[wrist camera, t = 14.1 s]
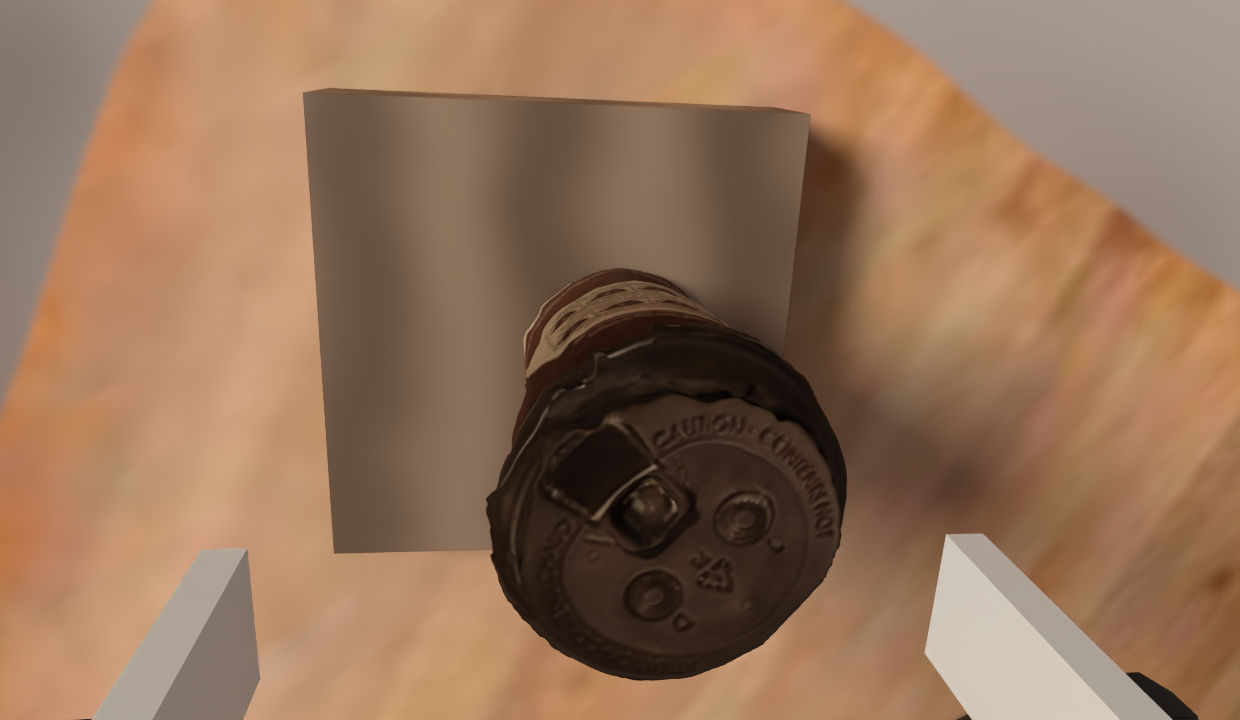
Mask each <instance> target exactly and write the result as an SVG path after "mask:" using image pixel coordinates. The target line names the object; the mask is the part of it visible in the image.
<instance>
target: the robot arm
mask: <svg viewBox="0 0 1240 720" xmlns="http://www.w3.org/2000/svg"><path fill="white" fill-rule="evenodd" d="M925 654H926V656H927V657H928V658H929V660H930V661H931V663H932V664H933V665H934V667H935V668H936V670H937V671H938V673H939V674H940V675H941V677H942V678H943V680H944V681H945V682H946V684H947V685H948V687H949V688H950V689H951V691H952V692H953V694H954V695H955V696H956V698H957V699H958V701H959V702H960V704H961V705H962V706H963V708H964V709H965V711H966V712H967V713H968V715H967V716H965V717H963V718H961V719H959V720H1198V716H1197V715H1196V714H1195V713H1194V712H1193V711H1192V710H1191V709H1189V708H1188V707H1187V706H1186V705H1185V704H1184V703H1183V702H1182V701H1181V700H1180V699H1179V698H1178V697H1177V696H1176V695H1175V694H1174V693H1172V692H1171V691H1169V690H1167V689H1166V688H1164V687H1162V686H1161V685H1159V684H1158V683H1156V682H1154V681H1153V680H1151V679H1149V678H1148V677H1146V676H1144V675H1143V674H1141V673H1139V672H1135V673H1124V672H1123V671H1122V670H1121V669H1120V668H1119V667H1118V666H1117V665H1116V664H1115V663H1114V662H1113V661H1112V660H1111V659H1110V658H1109V657H1108V656H1107V655H1106V654H1105V653H1104V652H1103V651H1102V650H1101V649H1100V648H1099V647H1098V646H1097V645H1096V644H1095V643H1094V642H1093V641H1092V640H1091V639H1090V638H1089V637H1088V636H1087V635H1086V634H1085V633H1084V632H1083V631H1082V630H1081V629H1080V628H1079V627H1078V626H1077V625H1076V624H1075V623H1073V622H1072V621H1071V620H1070V619H1069V618H1068V617H1067V616H1066V615H1065V614H1064V613H1063V612H1062V611H1061V610H1060V609H1059V608H1058V607H1057V606H1056V605H1055V604H1054V603H1053V602H1052V601H1051V600H1050V599H1049V598H1048V597H1047V596H1046V595H1045V594H1044V593H1043V592H1042V591H1041V590H1040V589H1039V588H1038V587H1037V586H1036V585H1035V584H1034V583H1033V582H1032V581H1031V580H1030V579H1029V578H1028V577H1027V576H1026V575H1025V574H1024V573H1023V572H1022V571H1021V570H1019V569H1018V568H1017V567H1016V566H1015V565H1014V564H1013V563H1012V562H1011V561H1010V560H1009V559H1008V558H1007V557H1006V556H1005V555H1004V554H1003V553H1002V552H1001V551H1000V550H999V549H998V548H997V547H996V546H995V545H994V544H993V543H992V542H991V541H990V540H989V539H988V538H987V537H986V536H985V535H984V534H946V538H945V544H944V549H943V555H942V560H941V566H940V571H939V577H938V582H937V588H936V593H935V599H934V605H933V610H932V616H931V621H930V627H929V632H928V638H927V643H926V649H925ZM259 680H260V674H259V663H258V653H257V643H256V633H255V623H254V613H253V603H252V592H251V582H250V572H249V562H248V552H247V548H239V549H202V550H201V551H200V553H199V554H198V556H197V557H196V559H195V560H194V562H193V564H192V565H191V567H190V568H189V570H188V571H187V573H186V574H185V576H184V577H183V579H182V581H181V582H180V584H179V585H178V587H177V588H176V590H175V591H174V593H173V594H172V596H171V598H170V599H169V601H168V602H167V604H166V605H165V607H164V608H163V610H162V611H161V613H160V615H159V616H158V618H157V619H156V621H155V622H154V624H153V625H152V627H151V628H150V630H149V632H148V633H147V635H146V636H145V638H144V639H143V641H142V642H141V644H140V645H139V647H138V649H137V650H136V652H135V653H134V655H133V656H132V658H131V659H130V661H129V662H128V664H127V666H126V667H125V669H124V670H123V672H122V673H121V675H120V676H119V678H118V679H117V681H116V683H115V684H114V686H113V687H112V689H111V690H110V692H109V693H108V695H107V696H106V698H105V700H104V701H103V703H102V704H101V706H100V707H99V709H98V710H97V712H96V713H95V715H94V717H93V718H92V719H81V720H243V718H244V716H245V713H246V711H247V709H248V706H249V704H250V701H251V699H252V697H253V694H254V692H255V689H256V687H257V684H258V682H259Z"/></svg>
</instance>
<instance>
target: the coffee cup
mask: <svg viewBox="0 0 1240 720" xmlns="http://www.w3.org/2000/svg"><path fill="white" fill-rule="evenodd" d="M523 343H524V354H525V364H524V374H525V375H526V384H525V388H526V394H525V397H524V400H523V403H522V406H521V409H520V410H519V412H518V415H517V420H516V423H515V427H514V430H513V434H512V449H511V452H510V454H508V455H507V457H506V459H505V461H504V463H503V466H502V469H501V472H500V474H499V480H498V485H497V487H496V490H494V491H493V492H491V493H490V495H489V496H488V497H487V498H486V501H487V506H486V514H487V518H488V521H489V524H490V537H491V542H492V549H493V553H492V554H491V555H490V556H491V560H492V562H493V564H494V567H495V570H496V572H497V574H498V579H499V583H500V585H501V587H502V590H503V593H504V595H505V596H506V598H507V600H508V601H509V602H510V603H511V604H512V606H513V607H514V609H515V610H516V611H517V612H518V613H519V615H520V616H521V618H522V619H523V620H524V621H526V622H527V623H528V624H529V625H530V626H531V627H532V629H533V630H534V631H535V632H536V633H537V634H538V635H539V636H540V637H543V638H545V639H546V640H547V641H548V642H549V644H550V645H551V647H553V648H554V649H556V650H558V651H560V652H561V653H563V654H564V655H566V656H567V657H570V658H573V659H575V660H577V661H579V662H581V663H583V664H585V665H587V666H589V667H591V668H593V669H596V670H598V671H600V672H603V673H606V674H609V675H613V676H618V677H621V678H628V679H631V680H639V681H642V680H651V681H652V680H666V679H682V678H687V677H692V676H695V675H698V674H701V673H703V672H706V671H709V670H711V669H713V668H717V667H720V666H723V665H725V664H726V663H729V662H731V661H733V660H734V659H736V658H738V657H740V656H742V655H743V654H745V653H748V652H750V651H752V650H753V649H755V648H757V647H759V646H761V645H763V644H764V642H765V641H766V640H768V639H769V637H770V636H771V635H772V634H773V633H775V632H776V631H777V629H778V628H779V627H780V626H781V625H782V624H783V623H784V622H785V621H786V620H787V619H788V618H789V617H790V616H791V615H792V614H793V613H794V612H795V611H796V610H797V609H798V608H799V607H800V605H801V604H802V603H803V602H804V601H805V600H806V599H807V598H808V597H809V596H810V595H811V593H812V592H813V591H814V590H815V589H816V588H817V587H818V586H819V585H820V584H821V583H822V582H823V580H824V578H826V575H827V572H828V570H829V568H830V567H831V566H832V562H833V558H834V557H835V552H836V551H837V549H838V548H839V546H840V540H841V530H840V529H841V526H842V520H843V513H844V508H845V503H846V497H847V492H846V486H847V473H846V466H845V461H844V458H843V455H842V451H841V448H840V445H839V443H838V440H837V437H836V435H835V433H834V431H833V429H832V428H831V426H830V424H829V422H828V420H827V418H826V416H825V414H824V412H823V411H822V409H821V407H820V405H819V403H818V402H817V399H816V397H815V395H814V393H813V390H812V389H811V386H810V384H809V382H808V381H807V380H806V378H805V377H804V376H803V375H802V374H800V373H799V372H797V371H796V370H795V369H794V368H793V366H792V365H790V364H789V363H788V362H787V361H786V360H784V359H783V358H782V357H781V356H780V355H779V354H778V353H777V352H776V351H774V350H773V349H772V348H770V347H768V346H765V345H764V344H762V343H761V342H760V341H759V339H758V338H755V337H752V336H750V335H748V334H746V333H745V332H738V331H736V330H734V329H731V328H730V327H729V326H728V325H727V324H726V323H725V322H724V321H722V320H720V319H718V318H717V317H715V316H714V315H713V314H712V313H710V312H709V311H707V310H706V309H705V308H703V307H702V306H701V305H700V304H698V303H696V302H695V301H693V300H691V299H689V297H688V296H687V295H686V294H685V293H684V292H683V291H682V290H681V289H680V288H679V287H677V286H676V285H674V284H672V283H671V282H670V281H668V280H666V279H664V278H662V277H660V276H657V275H653V274H650V273H647V272H642V271H638V270H633V269H628V268H613V269H607V270H602V271H599V272H594V273H592V274H589V275H586V276H584V277H582V278H580V279H578V280H576V281H573V282H571V283H570V284H569V285H567V286H566V287H565V288H563V289H562V290H561V291H560V292H558V293H557V294H556V295H555V296H553V297H552V298H550V299H549V300H548V301H546V302H545V303H544V304H543V305H542V306H541V309H540V312H539V314H538V315H537V317H536V319H535V320H534V322H533V323H532V324H531V326H530V328H529V329H528V330H527V331H526V333H525V336H524V339H523Z"/></svg>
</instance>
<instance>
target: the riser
mask: <svg viewBox="0 0 1240 720" xmlns="http://www.w3.org/2000/svg"><path fill="white" fill-rule="evenodd" d="M303 101H304V115H305V130H306V145H307V160H308V175H309V190H310V204H311V219H312V234H313V249H314V264H315V279H316V293H317V308H318V323H319V338H320V353H321V368H322V382H323V397H324V412H325V427H326V442H327V457H328V471H329V486H330V501H331V516H332V531H333V546H334V553H376V552H418V551H461V550H493V549H492V542H491V537H490V524H489V521H488V518H487V514H486V506H487V501H486V498H487V497H488V496H489V495H490V493H491V492H493V491H494V490H496V487H497V485H498V480H499V474H500V472H501V469H502V466H503V463H504V461H505V459H506V457H507V455H508V454H510V452H511V449H512V434H513V430H514V427H515V423H516V420H517V415H518V412H519V410H520V409H521V406H522V403H523V400H524V397H525V394H526V388H525V384H526V375H525V374H524V364H525V354H524V343H523V339H524V336H525V333H526V331H527V330H528V329H529V328H530V326H531V324H532V323H533V322H534V320H535V319H536V317H537V315H538V314H539V312H540V309H541V306H542V305H543V304H544V303H545V302H546V301H548V300H549V299H550V298H552V297H553V296H555V295H556V294H557V293H558V292H560V291H561V290H562V289H563V288H565V287H566V286H567V285H569V284H570V283H571V282H573V281H576V280H578V279H580V278H582V277H584V276H586V275H589V274H592V273H594V272H599V271H602V270H607V269H613V268H628V269H633V270H638V271H642V272H647V273H650V274H653V275H657V276H660V277H662V278H664V279H666V280H668V281H670V282H671V283H672V284H674V285H676V286H677V287H679V288H680V289H681V290H682V291H683V292H684V293H685V294H686V295H687V296H688V297H689V299H691V300H693V301H695V302H696V303H698V304H700V305H701V306H702V307H703V308H705V309H706V310H707V311H709V312H710V313H712V314H713V315H714V316H715V317H717V318H718V319H720V320H722V321H724V322H725V323H726V324H727V325H728V326H729V327H730V328H731V329H734V330H736V331H738V332H745V333H746V334H748V335H750V336H752V337H755V338H758V339H759V341H760V342H761V343H762V344H764V345H765V346H768V347H770V348H772V349H773V350H774V351H776V352H777V353H778V354H779V355H780V356H781V357H782V358H783V355H784V346H785V337H786V329H787V320H788V311H789V302H790V293H791V284H792V275H793V266H794V257H795V249H796V240H797V231H798V222H799V213H800V204H801V195H802V186H803V177H804V169H805V160H806V151H807V142H808V133H809V124H810V115H811V114H807V113H801V112H796V111H791V110H785V109H780V108H773V107H750V106H727V105H704V104H681V103H658V102H634V101H611V100H588V99H565V98H542V97H519V96H496V95H473V94H450V93H427V92H404V91H381V90H358V89H335V88H327V89H321V90H315V91H309V92H304V93H303Z"/></svg>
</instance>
